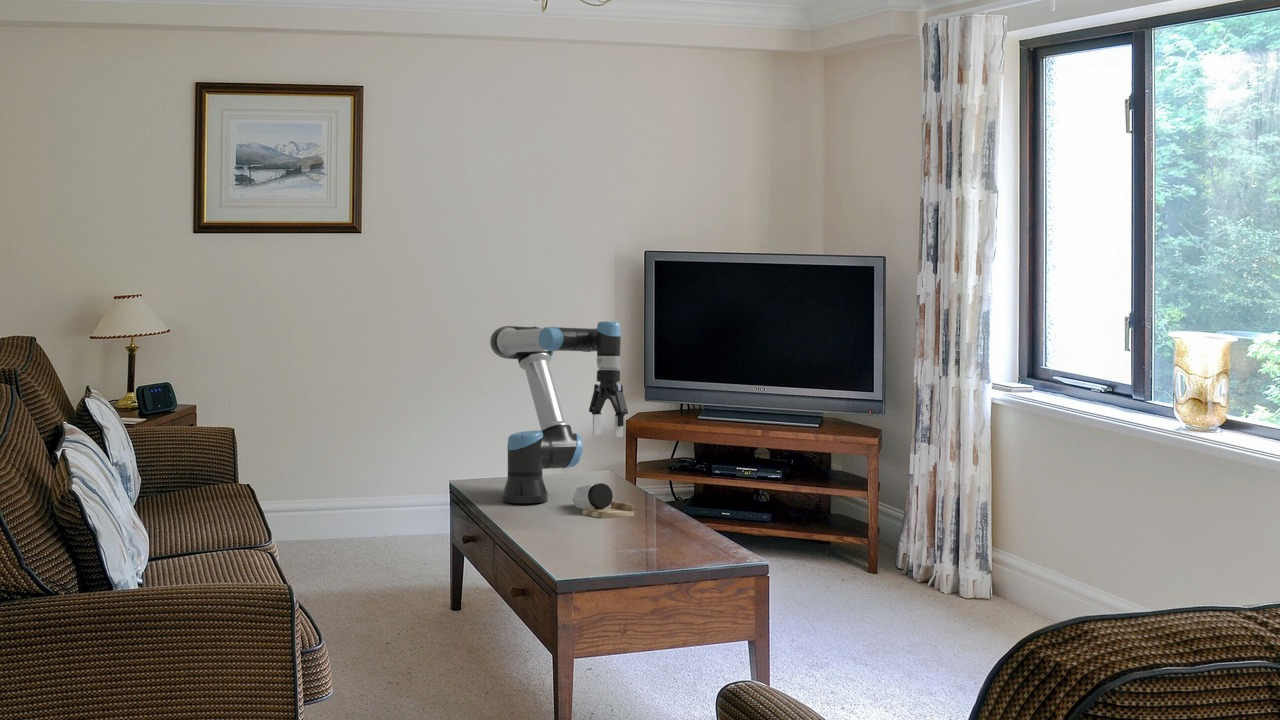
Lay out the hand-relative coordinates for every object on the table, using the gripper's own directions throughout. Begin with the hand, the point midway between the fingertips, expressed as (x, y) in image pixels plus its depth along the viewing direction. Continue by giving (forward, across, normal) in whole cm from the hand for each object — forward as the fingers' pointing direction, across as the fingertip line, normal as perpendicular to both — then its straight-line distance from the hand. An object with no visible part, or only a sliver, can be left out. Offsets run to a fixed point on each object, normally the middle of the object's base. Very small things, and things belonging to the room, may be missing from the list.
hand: (607, 435), depth 351 cm
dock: (+25, +2, -1) cm, 25 cm away
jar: (+22, -13, -2) cm, 25 cm away
